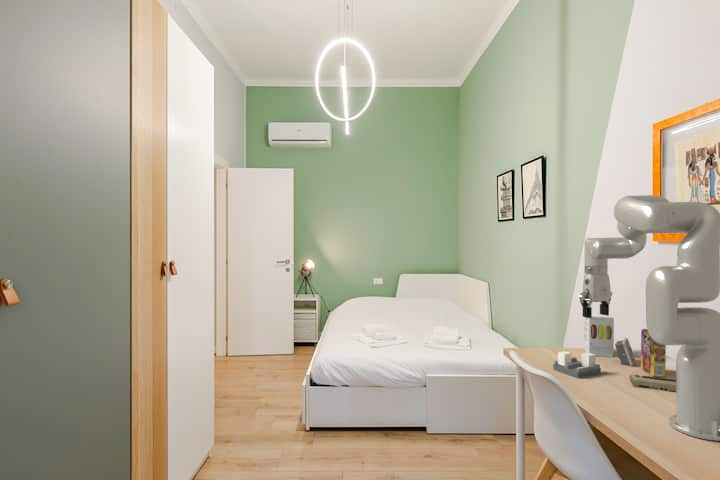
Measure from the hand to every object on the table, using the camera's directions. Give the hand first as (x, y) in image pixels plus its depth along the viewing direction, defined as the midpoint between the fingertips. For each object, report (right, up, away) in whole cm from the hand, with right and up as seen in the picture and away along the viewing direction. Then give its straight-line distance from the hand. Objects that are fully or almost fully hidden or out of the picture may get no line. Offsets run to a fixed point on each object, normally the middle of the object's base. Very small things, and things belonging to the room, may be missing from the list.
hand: (595, 316), depth 153 cm
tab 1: (-12, -18, -1) cm, 22 cm away
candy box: (+19, -20, -4) cm, 28 cm away
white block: (-4, -18, -3) cm, 19 cm away
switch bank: (-8, -20, -2) cm, 22 cm away
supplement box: (+13, -20, +21) cm, 32 cm away
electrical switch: (+17, -20, +8) cm, 27 cm away
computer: (+11, -21, -17) cm, 29 cm away
